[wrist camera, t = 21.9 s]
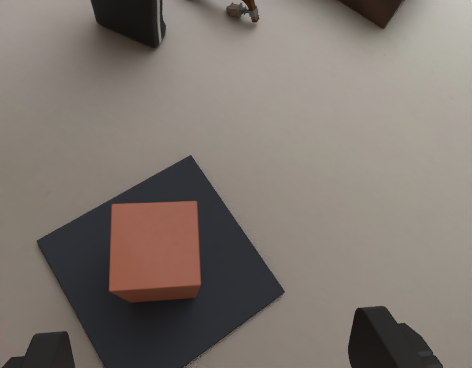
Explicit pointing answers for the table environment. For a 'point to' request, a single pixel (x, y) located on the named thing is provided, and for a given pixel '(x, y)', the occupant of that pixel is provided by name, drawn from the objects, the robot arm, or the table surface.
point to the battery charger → (132, 19)
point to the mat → (164, 311)
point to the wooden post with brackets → (244, 10)
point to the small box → (154, 251)
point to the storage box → (375, 9)
